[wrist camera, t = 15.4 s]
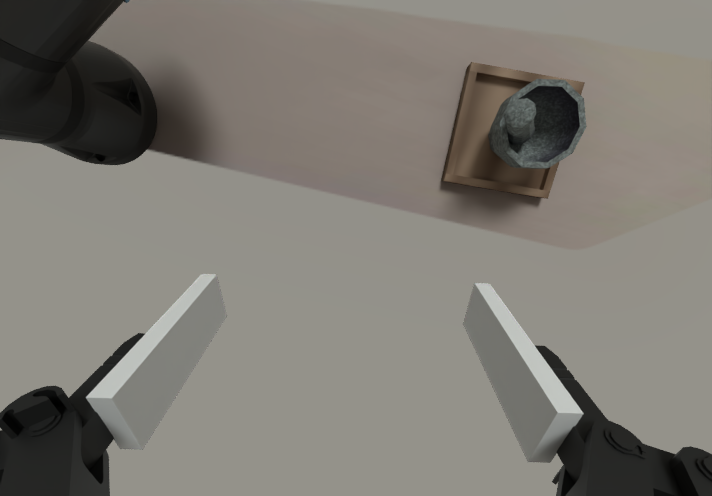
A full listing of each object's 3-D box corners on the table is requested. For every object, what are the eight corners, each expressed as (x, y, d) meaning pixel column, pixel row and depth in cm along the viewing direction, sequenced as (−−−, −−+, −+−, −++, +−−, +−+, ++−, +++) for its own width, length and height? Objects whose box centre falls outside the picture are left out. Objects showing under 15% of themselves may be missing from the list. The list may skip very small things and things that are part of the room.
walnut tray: (441, 180, 40) (444, 180, 39) (467, 67, 37) (471, 62, 35) (540, 197, 40) (547, 198, 39) (575, 86, 37) (584, 82, 36)
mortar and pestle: (553, 99, 37) (642, 60, 25) (539, 172, 39) (616, 166, 27) (469, 96, 37) (520, 55, 25) (460, 168, 39) (503, 161, 27)
